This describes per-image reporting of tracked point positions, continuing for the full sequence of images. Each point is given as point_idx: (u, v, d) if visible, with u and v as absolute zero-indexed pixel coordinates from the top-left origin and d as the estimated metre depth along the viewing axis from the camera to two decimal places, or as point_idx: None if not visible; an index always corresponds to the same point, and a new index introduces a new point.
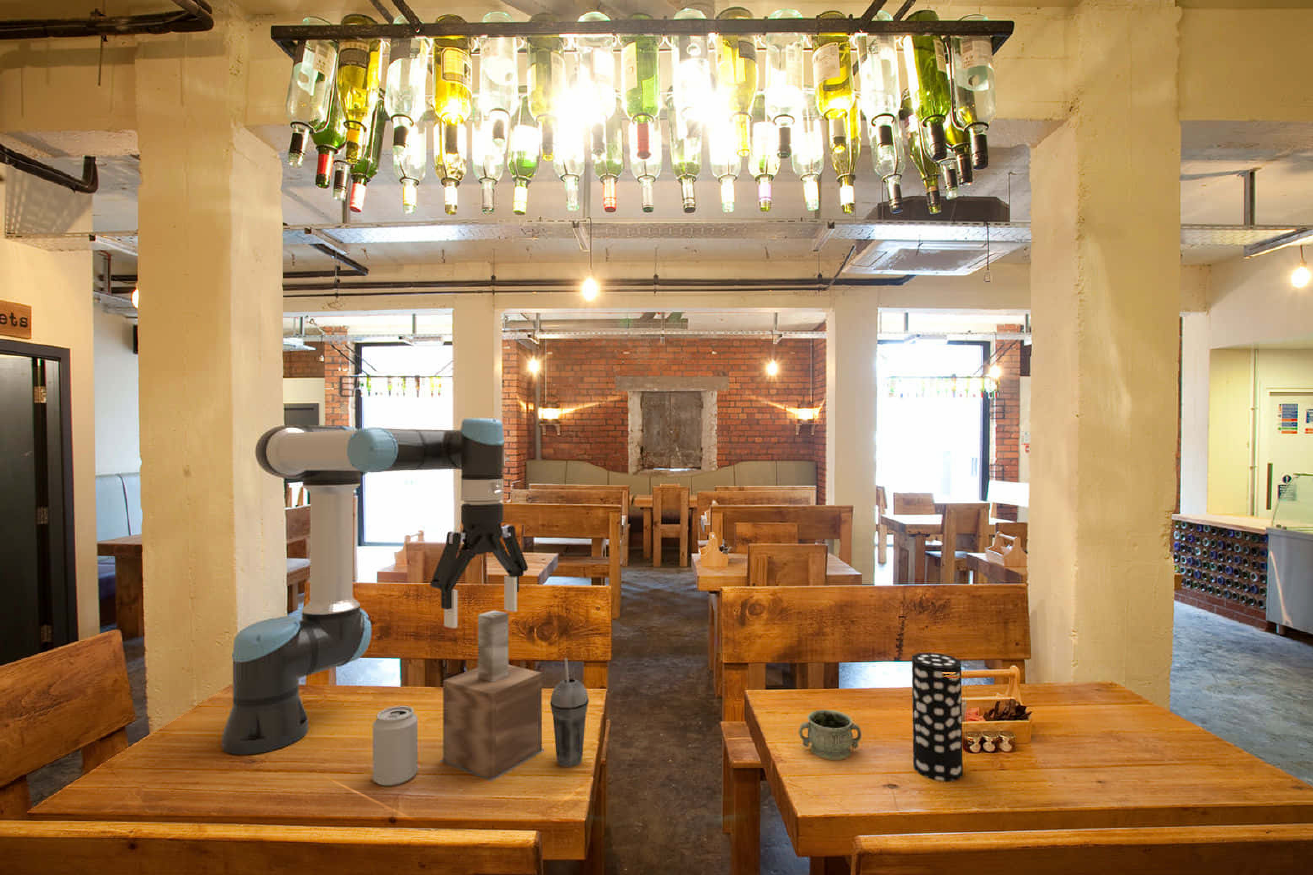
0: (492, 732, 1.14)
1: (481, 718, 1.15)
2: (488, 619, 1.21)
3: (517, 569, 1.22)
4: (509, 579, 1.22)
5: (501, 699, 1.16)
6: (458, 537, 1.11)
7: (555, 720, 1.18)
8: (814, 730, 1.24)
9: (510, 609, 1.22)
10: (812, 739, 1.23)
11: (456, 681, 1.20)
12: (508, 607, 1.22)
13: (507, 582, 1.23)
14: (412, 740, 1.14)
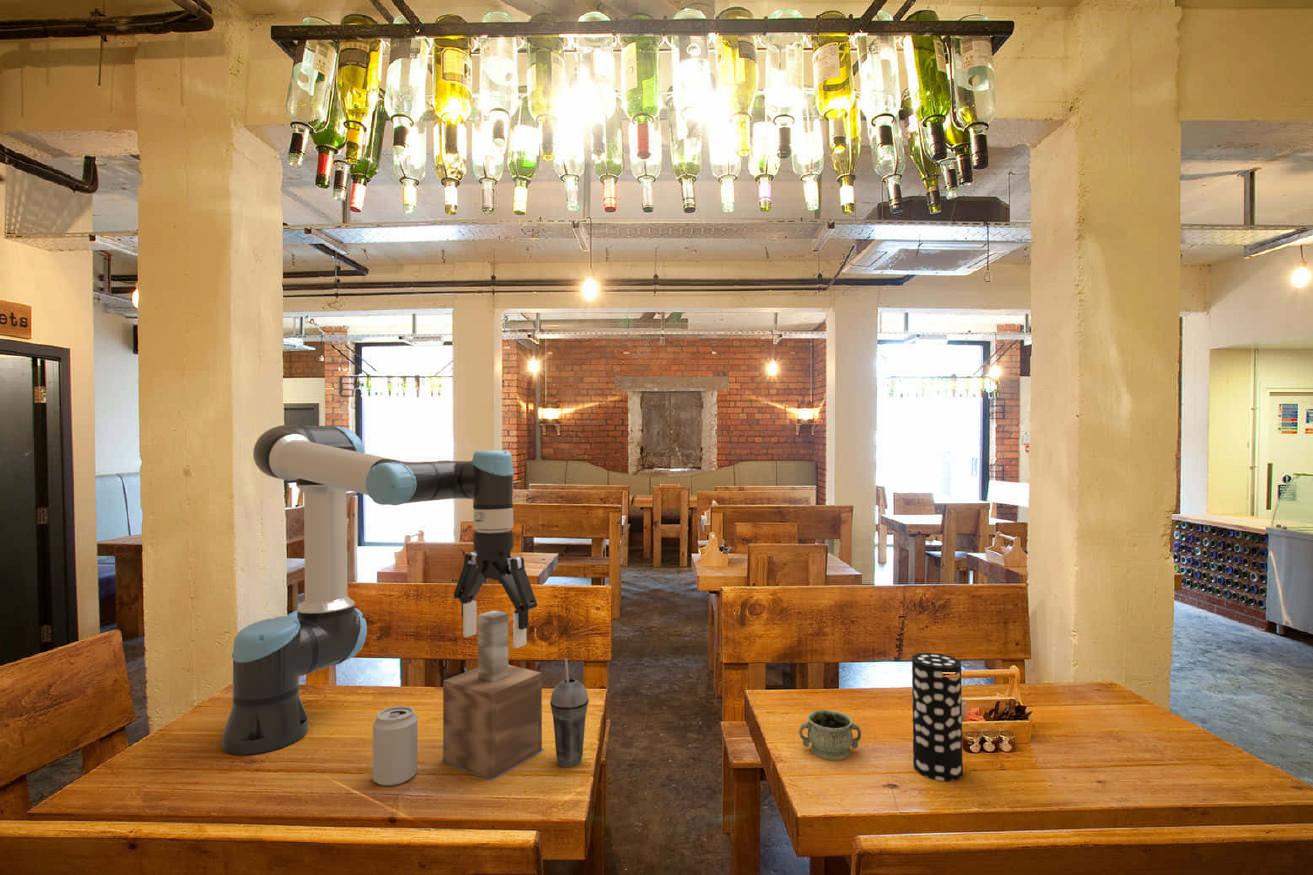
0: (492, 732, 1.14)
1: (481, 718, 1.15)
2: (488, 619, 1.21)
3: (517, 605, 1.18)
4: None
5: (501, 699, 1.16)
6: (466, 557, 1.26)
7: (555, 720, 1.18)
8: (813, 730, 1.24)
9: None
10: (812, 739, 1.23)
11: (456, 681, 1.20)
12: None
13: None
14: (412, 740, 1.14)
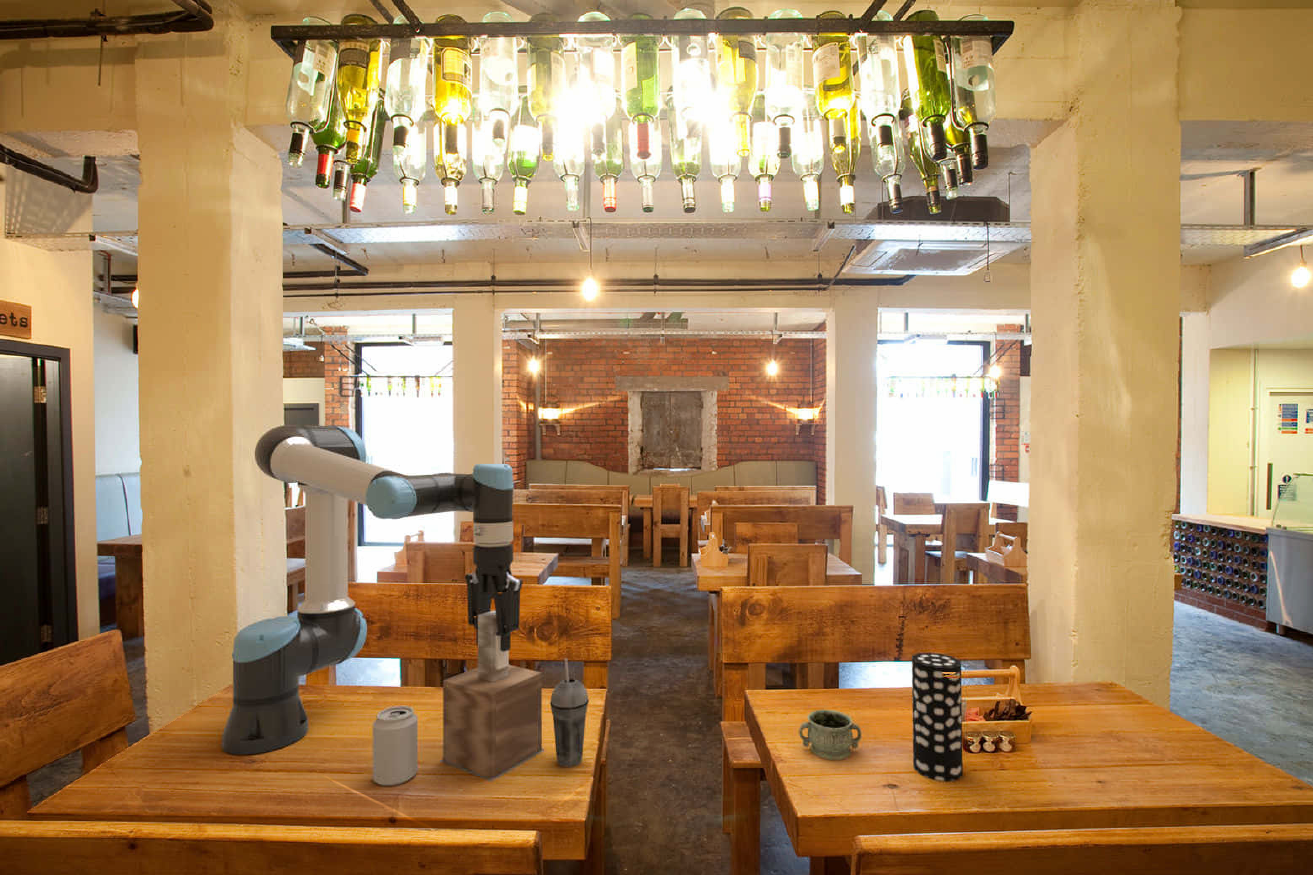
0: (492, 732, 1.14)
1: (481, 718, 1.15)
2: (488, 619, 1.21)
3: (501, 627, 1.20)
4: None
5: (501, 699, 1.16)
6: (467, 578, 1.25)
7: (555, 720, 1.18)
8: (814, 730, 1.24)
9: None
10: (812, 739, 1.23)
11: (456, 681, 1.20)
12: None
13: None
14: (412, 740, 1.14)
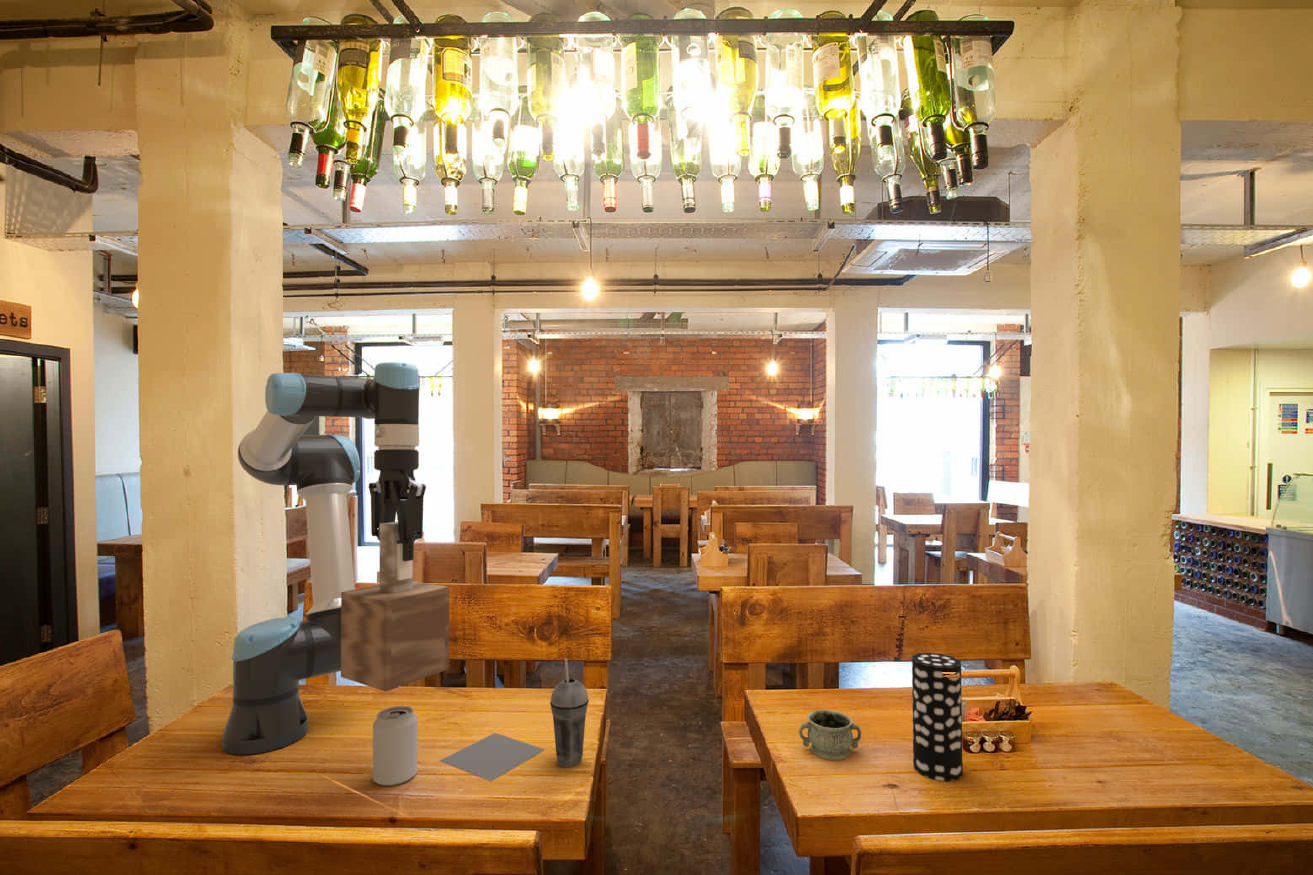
0: (387, 642, 1.07)
1: (376, 628, 1.08)
2: (389, 526, 1.14)
3: (402, 535, 1.13)
4: None
5: (398, 608, 1.09)
6: (370, 487, 1.18)
7: (555, 720, 1.18)
8: (814, 730, 1.24)
9: None
10: (812, 739, 1.23)
11: (354, 592, 1.13)
12: None
13: None
14: (412, 740, 1.14)
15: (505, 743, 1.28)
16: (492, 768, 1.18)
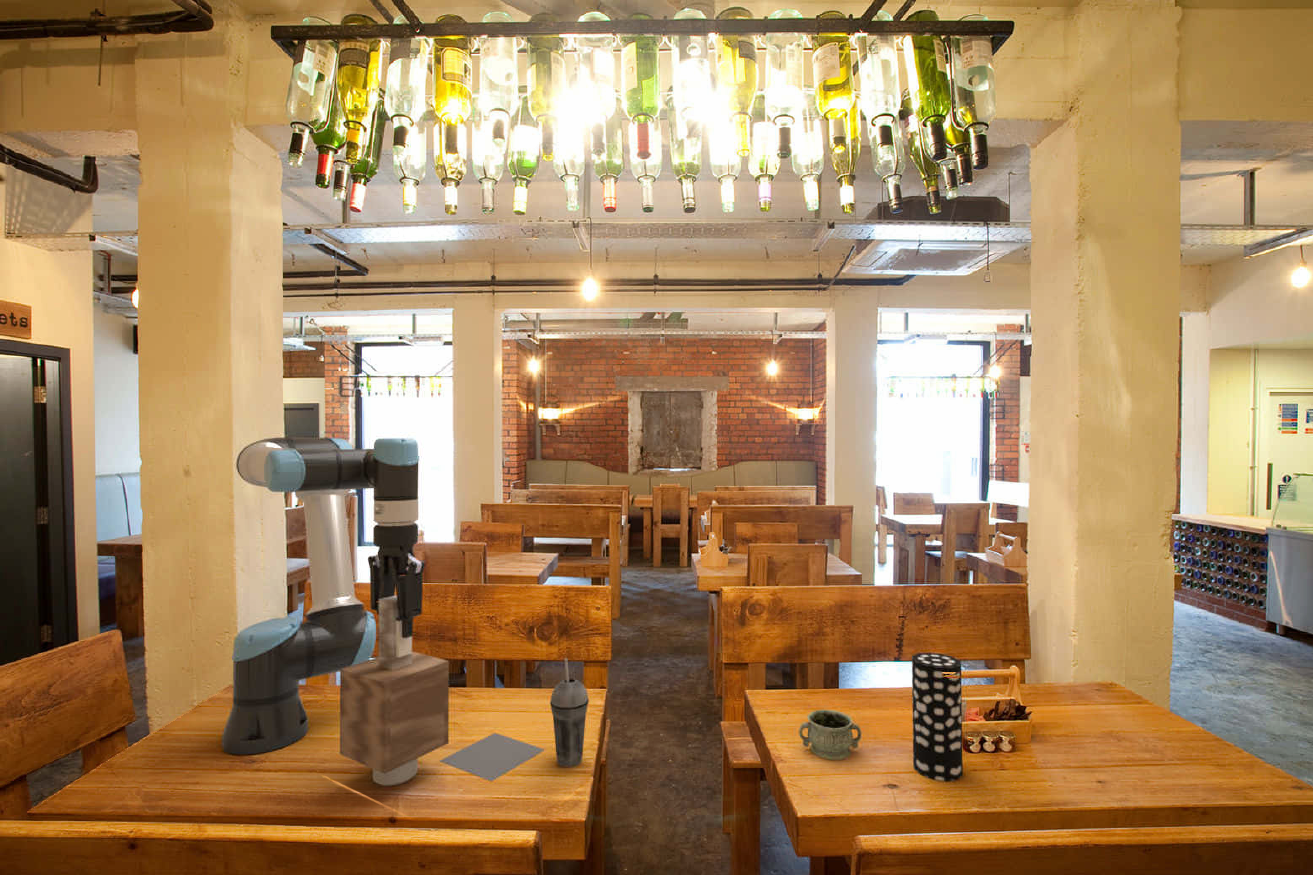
0: (386, 723, 1.06)
1: (375, 709, 1.08)
2: (388, 603, 1.13)
3: (401, 612, 1.13)
4: None
5: (397, 688, 1.08)
6: (369, 560, 1.18)
7: (555, 720, 1.18)
8: (814, 730, 1.24)
9: None
10: (812, 739, 1.23)
11: (353, 669, 1.13)
12: None
13: None
14: None
15: (505, 743, 1.28)
16: (492, 768, 1.18)
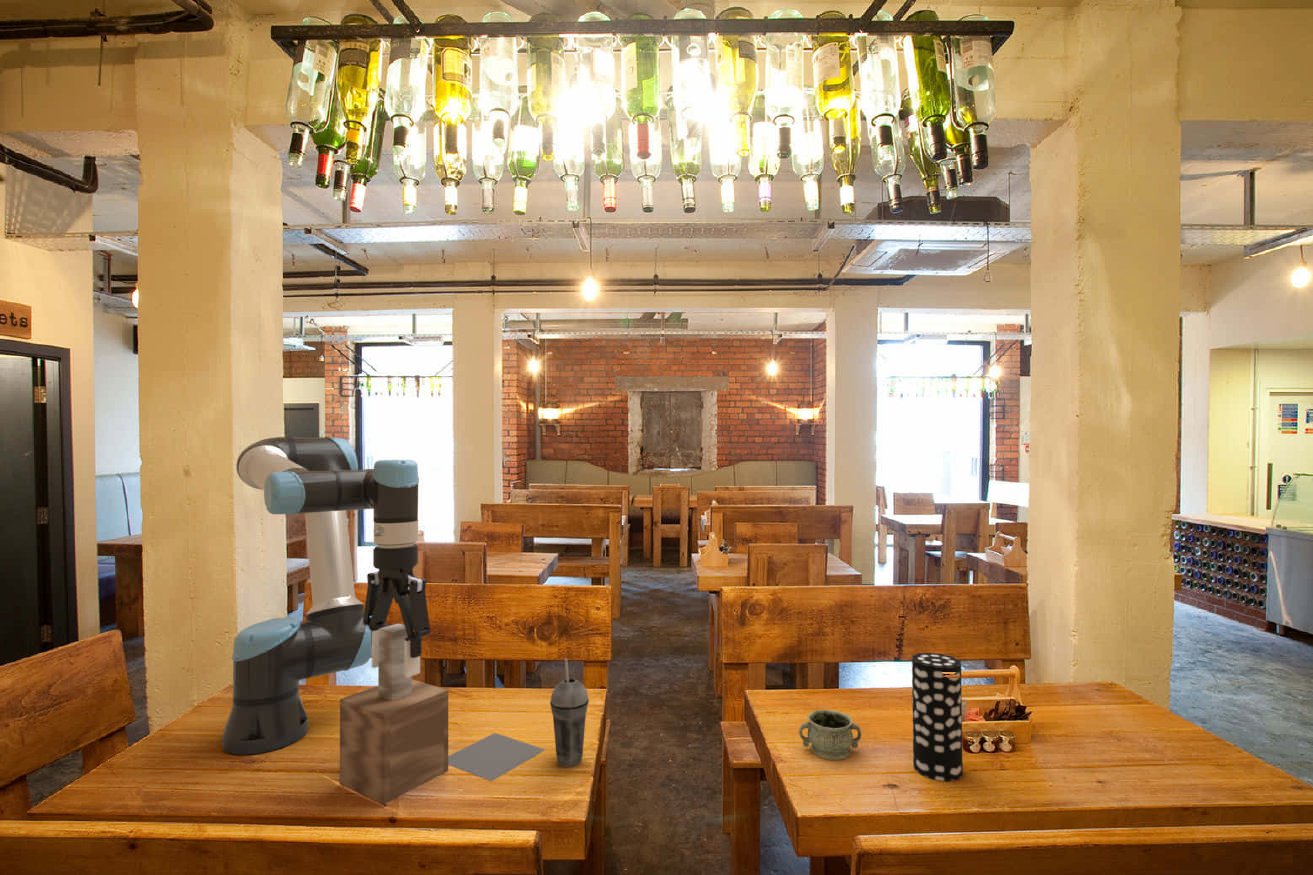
0: (386, 756, 1.06)
1: (375, 740, 1.08)
2: (388, 633, 1.13)
3: (409, 632, 1.11)
4: None
5: (397, 720, 1.08)
6: (368, 577, 1.18)
7: (555, 720, 1.18)
8: (814, 730, 1.24)
9: None
10: (812, 739, 1.23)
11: (353, 700, 1.13)
12: None
13: None
14: None
15: (505, 743, 1.28)
16: (492, 768, 1.18)
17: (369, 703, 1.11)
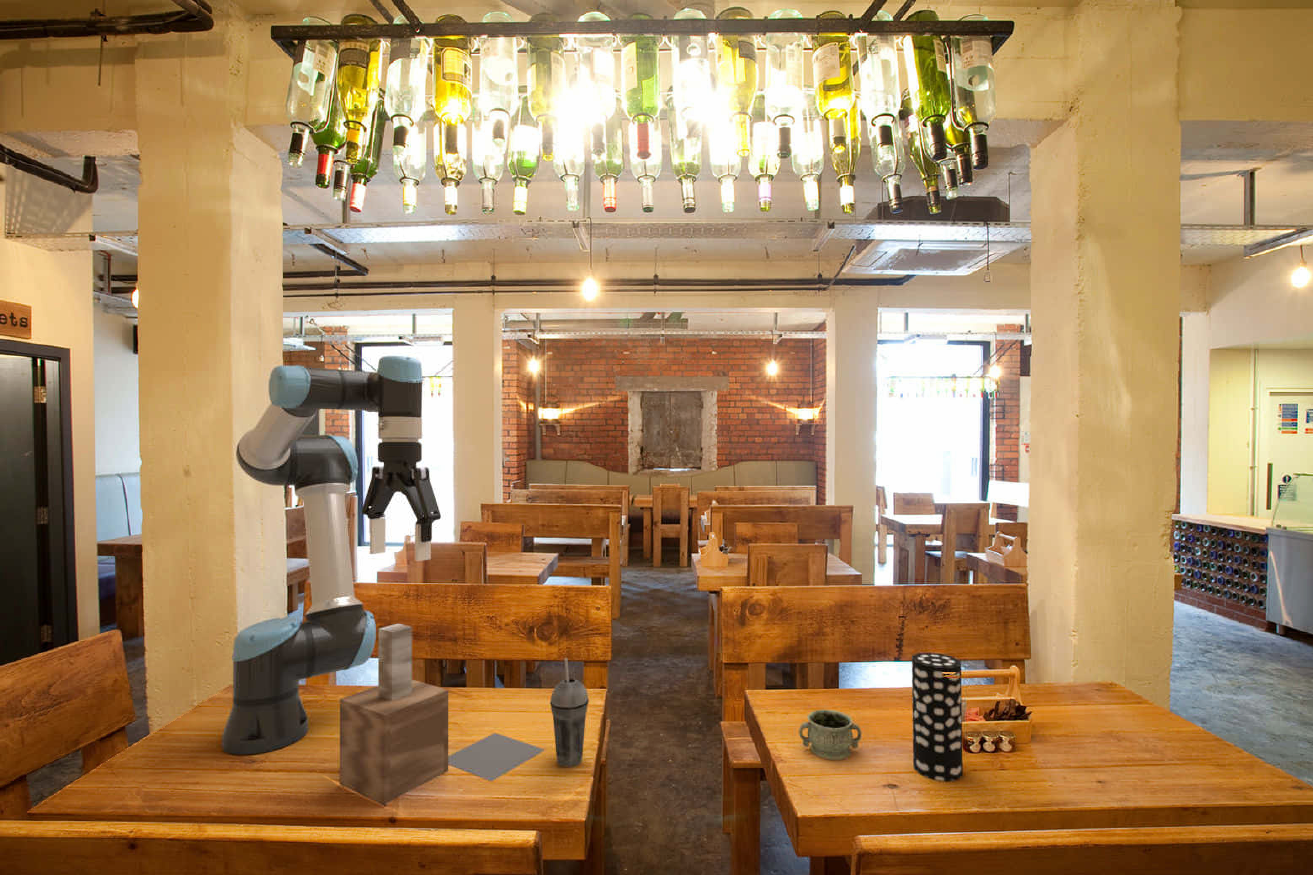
0: (386, 756, 1.06)
1: (375, 740, 1.08)
2: (388, 633, 1.13)
3: (419, 516, 1.12)
4: None
5: (397, 720, 1.08)
6: (373, 471, 1.20)
7: (555, 720, 1.18)
8: (814, 730, 1.24)
9: None
10: (812, 739, 1.23)
11: (353, 700, 1.13)
12: None
13: None
14: None
15: (505, 743, 1.28)
16: (492, 768, 1.18)
17: (369, 703, 1.11)
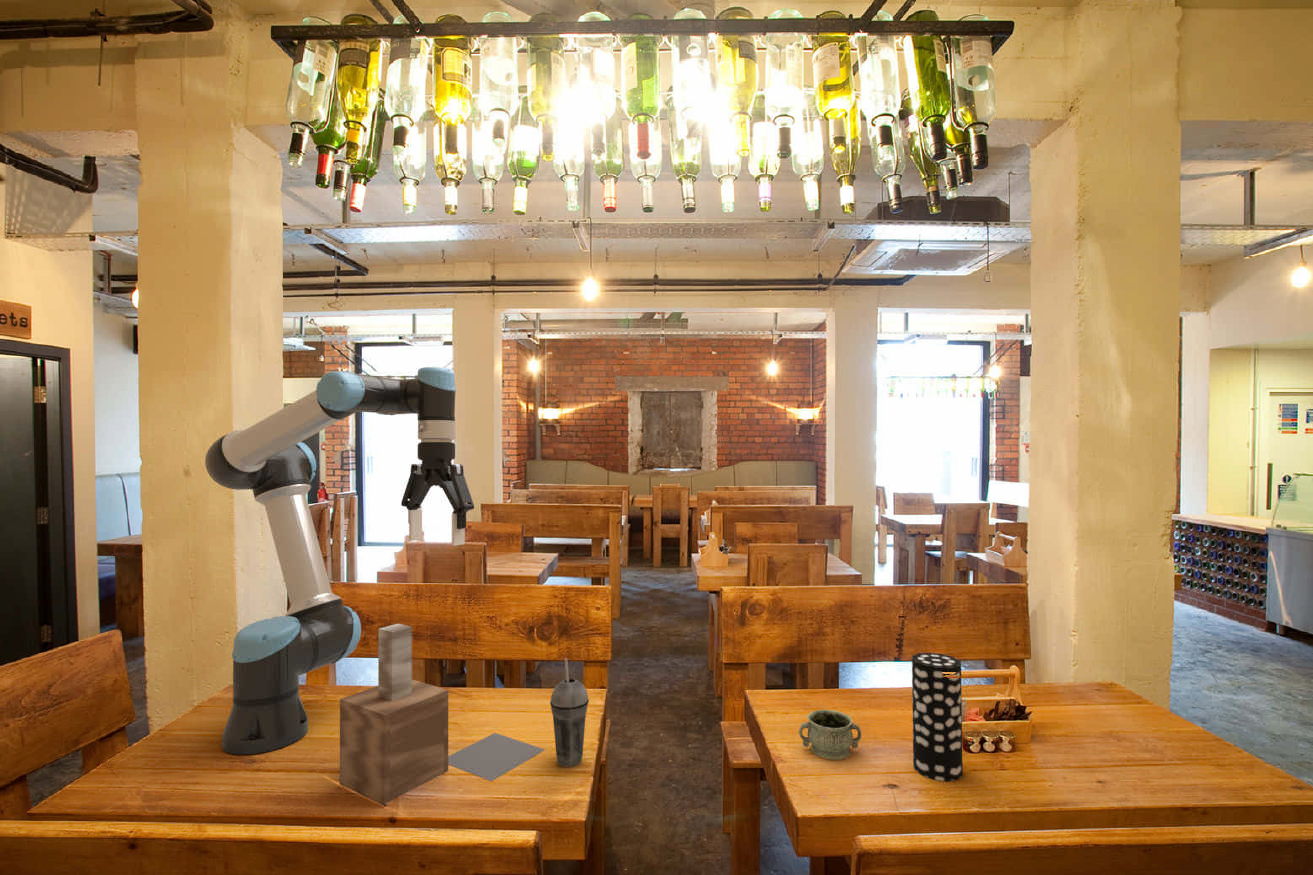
0: (386, 756, 1.06)
1: (375, 740, 1.08)
2: (388, 633, 1.13)
3: (455, 506, 1.29)
4: None
5: (397, 720, 1.08)
6: (412, 467, 1.36)
7: (555, 720, 1.18)
8: (813, 730, 1.24)
9: None
10: (812, 739, 1.23)
11: (353, 700, 1.13)
12: None
13: None
14: None
15: (505, 743, 1.28)
16: (492, 768, 1.18)
17: (369, 703, 1.11)
